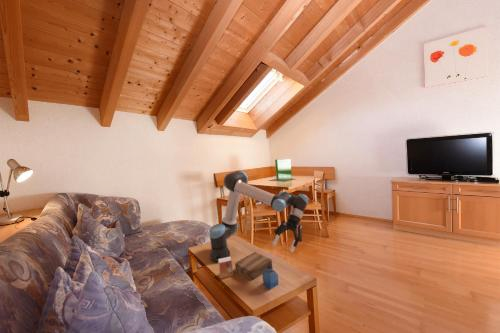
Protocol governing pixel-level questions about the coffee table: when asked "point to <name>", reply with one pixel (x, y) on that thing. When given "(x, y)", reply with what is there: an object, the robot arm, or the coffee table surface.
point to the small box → (225, 267)
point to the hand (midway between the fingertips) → (282, 248)
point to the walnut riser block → (252, 265)
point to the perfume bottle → (270, 277)
